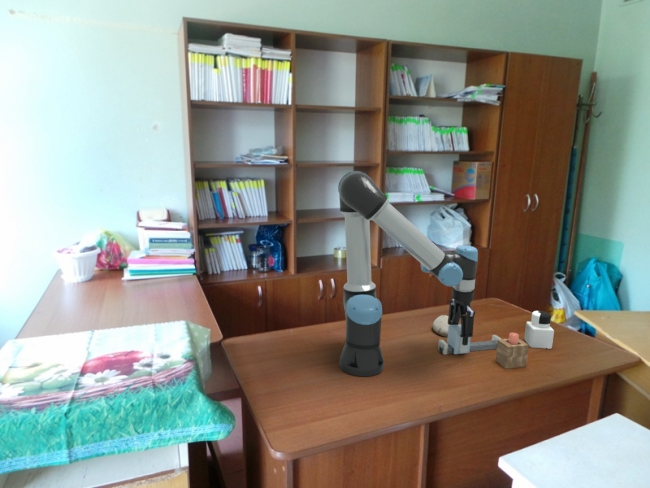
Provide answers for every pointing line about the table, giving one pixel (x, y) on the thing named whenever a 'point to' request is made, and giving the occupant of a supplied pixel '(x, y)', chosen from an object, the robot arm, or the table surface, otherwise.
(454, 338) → the carriage
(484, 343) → the rail
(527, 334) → the container
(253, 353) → the table surface
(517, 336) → the plunger
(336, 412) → the table surface
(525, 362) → the wooden box
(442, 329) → the stone
